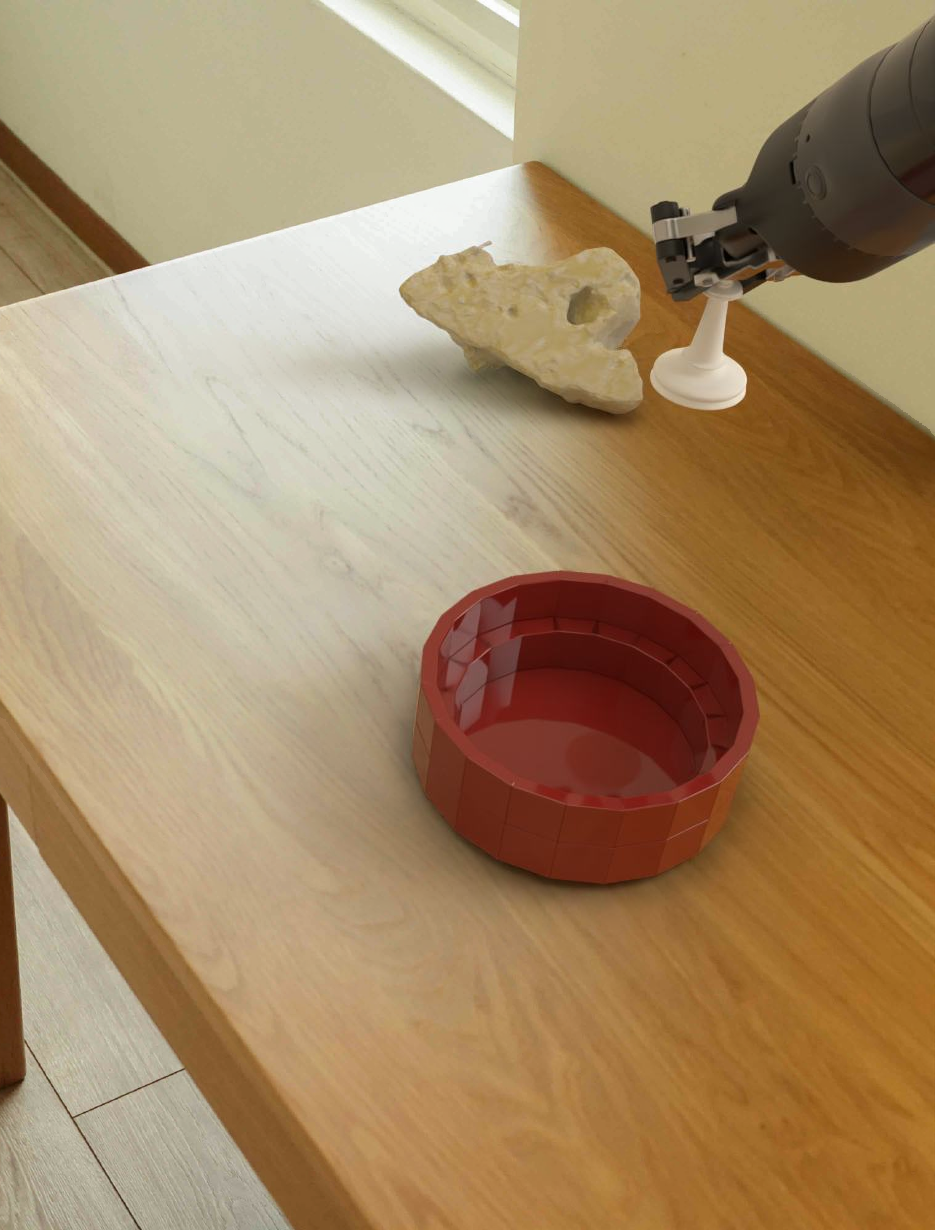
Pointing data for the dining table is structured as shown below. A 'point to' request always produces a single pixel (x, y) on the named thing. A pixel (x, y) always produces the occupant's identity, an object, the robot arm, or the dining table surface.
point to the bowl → (582, 725)
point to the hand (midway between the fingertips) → (701, 280)
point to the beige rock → (540, 320)
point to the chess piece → (704, 360)
